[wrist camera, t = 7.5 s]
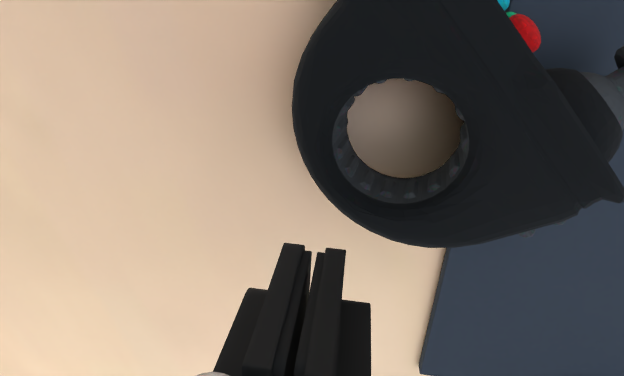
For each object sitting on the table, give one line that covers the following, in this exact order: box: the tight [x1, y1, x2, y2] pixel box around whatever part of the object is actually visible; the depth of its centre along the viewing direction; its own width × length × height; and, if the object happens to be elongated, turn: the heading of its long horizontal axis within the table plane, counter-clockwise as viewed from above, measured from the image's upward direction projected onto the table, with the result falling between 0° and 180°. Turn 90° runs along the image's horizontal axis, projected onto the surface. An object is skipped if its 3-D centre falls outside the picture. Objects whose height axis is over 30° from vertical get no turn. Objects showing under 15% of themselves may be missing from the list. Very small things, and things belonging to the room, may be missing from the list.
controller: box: [292, 0, 624, 248], centre depth 13 cm, size 4×12×10 cm
